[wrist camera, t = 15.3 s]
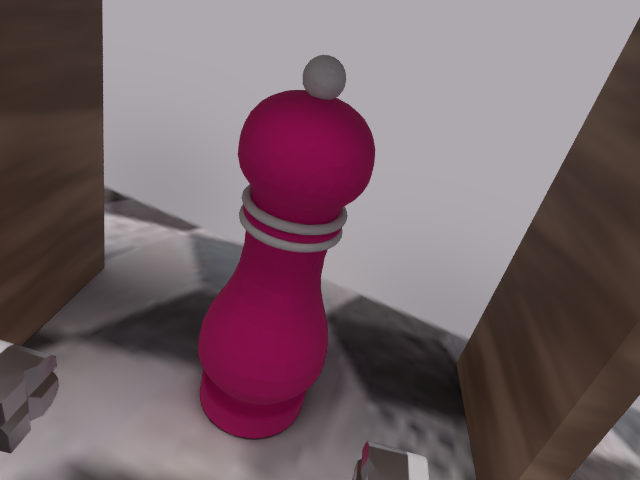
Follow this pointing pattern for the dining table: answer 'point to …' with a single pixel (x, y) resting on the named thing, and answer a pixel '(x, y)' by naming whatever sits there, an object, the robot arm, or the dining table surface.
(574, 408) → the arch
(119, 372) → the dining table surface
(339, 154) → the pepper mill
